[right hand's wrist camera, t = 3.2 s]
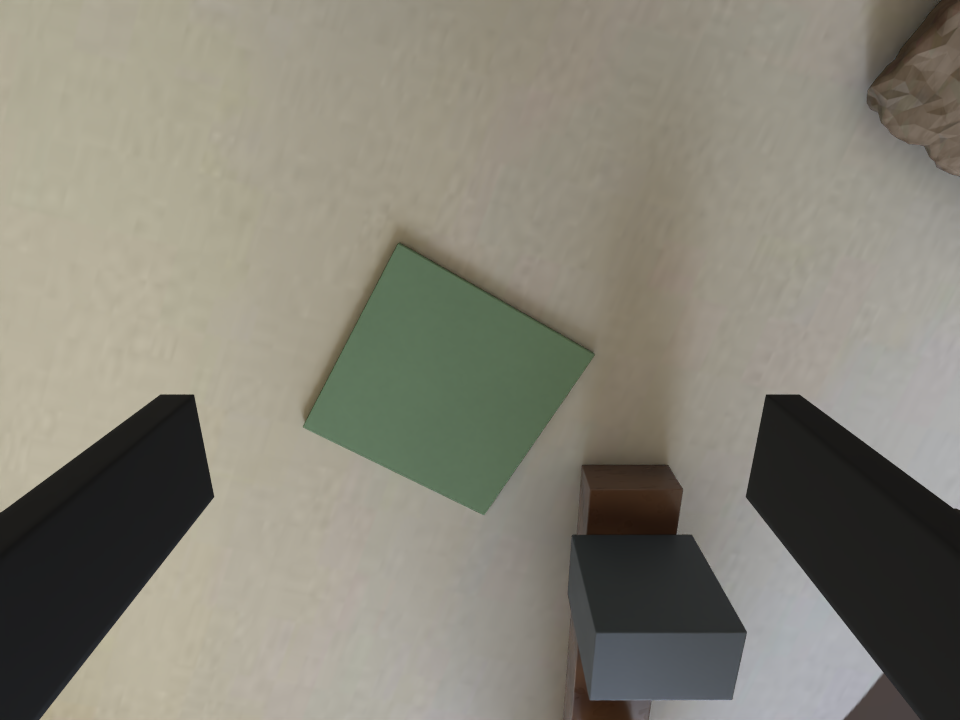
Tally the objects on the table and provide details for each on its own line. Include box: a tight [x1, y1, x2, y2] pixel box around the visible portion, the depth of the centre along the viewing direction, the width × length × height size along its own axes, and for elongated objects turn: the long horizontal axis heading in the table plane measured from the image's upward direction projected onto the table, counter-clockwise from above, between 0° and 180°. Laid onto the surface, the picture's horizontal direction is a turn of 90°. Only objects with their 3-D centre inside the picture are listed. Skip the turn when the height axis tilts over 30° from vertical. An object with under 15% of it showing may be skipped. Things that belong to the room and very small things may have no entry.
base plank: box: [563, 465, 683, 720], centre depth 38 cm, size 26×6×9 cm, turn 0°
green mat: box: [303, 243, 594, 515], centre depth 36 cm, size 14×14×1 cm
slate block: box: [568, 535, 747, 700], centre depth 33 cm, size 5×8×8 cm, turn 90°
